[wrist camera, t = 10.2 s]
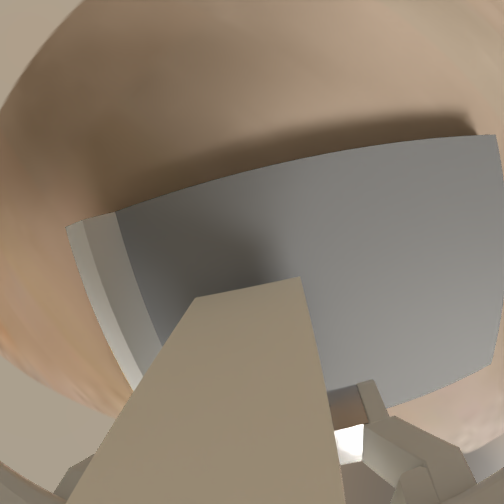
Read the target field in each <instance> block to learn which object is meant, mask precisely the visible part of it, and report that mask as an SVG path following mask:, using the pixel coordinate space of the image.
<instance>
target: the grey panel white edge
mask: <svg viewBox="0 0 504 504" xmlns="http://www.w3.org/2000/svg"><path fill="white" fill-rule="evenodd" d="M65 228H66V231H67V235H68V238H69V242H70V245H71V249H72V252H73V255H74V258H75V261H76V264H77V267H78V270H79V273H80V276H81V279H82V282H83V285H84V287H85V290H86V293H87V295H88V298H89V300H90V303H91V305H92V308H93V310H94V313H95V315H96V317H97V320H98V322H99V324H100V327H101V329H102V331H103V333H104V335H105V338H106V340H107V342H108V344H109V347H110V349H111V351H112V353H113V355H114V357H115V359H116V361H117V363H118V365H119V367H120V368H121V370H122V372H123V374H124V376H125V378H126V380H127V381H128V383H129V385H130V387H131V388H132V390H133V392H134V390H135V389H136V387H137V386H138V384H139V382H140V381H141V379H142V378H143V376H144V375H145V373H146V372H147V370H148V368H149V367H150V365H151V364H152V362H153V361H154V359H155V358H156V356H157V355H158V353H159V352H160V350H161V348H162V347H163V345H164V344H165V342H166V341H167V339H168V338H169V336H170V335H171V333H172V332H173V330H174V329H175V327H176V326H177V324H178V323H179V321H180V320H181V318H182V317H183V315H184V314H185V312H186V311H187V309H188V308H189V306H190V305H191V303H192V302H193V300H194V299H195V298H196V297H201V296H207V295H212V294H217V293H222V292H227V291H232V290H238V289H242V288H247V287H252V286H257V285H262V284H267V283H272V282H276V281H281V280H286V279H290V278H295V277H299V276H300V278H301V282H302V286H303V290H304V294H305V298H306V302H307V307H308V311H309V315H310V319H311V323H312V328H313V332H314V336H315V341H316V345H317V350H318V354H319V359H320V363H321V368H322V373H323V377H324V382H325V387H326V391H329V390H333V389H338V388H342V387H346V386H350V385H353V384H357V383H360V382H364V381H367V380H371V379H373V380H374V381H375V383H376V386H377V388H378V390H379V393H380V395H381V397H382V400H383V402H384V405H385V407H386V408H390V407H393V406H396V405H399V404H402V403H405V402H407V401H410V400H413V399H416V398H418V397H421V396H423V395H426V394H429V393H431V392H433V391H436V390H438V389H441V388H443V387H445V386H448V385H450V384H452V383H454V382H456V381H458V380H461V379H463V378H465V377H467V376H469V375H471V374H473V373H475V372H477V371H479V370H481V369H482V368H484V367H486V366H488V365H490V364H491V362H492V358H493V354H494V350H495V345H496V341H497V336H498V331H499V325H500V320H501V313H502V306H503V299H504V181H503V173H502V166H501V160H500V154H499V149H498V144H497V139H496V135H473V136H456V137H443V138H432V139H422V140H413V141H404V142H396V143H389V144H382V145H375V146H368V147H362V148H356V149H350V150H344V151H338V152H333V153H327V154H322V155H317V156H312V157H307V158H302V159H297V160H293V161H288V162H284V163H279V164H275V165H270V166H266V167H262V168H258V169H254V170H250V171H246V172H242V173H238V174H234V175H230V176H227V177H223V178H219V179H216V180H212V181H209V182H205V183H202V184H198V185H195V186H191V187H188V188H185V189H181V190H178V191H175V192H172V193H169V194H165V195H162V196H159V197H156V198H153V199H150V200H147V201H144V202H141V203H138V204H135V205H133V206H130V207H127V208H124V209H121V210H119V211H116V212H112V213H108V214H104V215H100V216H96V217H92V218H88V219H84V220H81V221H79V222H76V223H74V224H71V225H69V226H67V227H65Z"/></svg>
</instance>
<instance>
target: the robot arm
mask: <svg viewBox="0 0 504 504" xmlns="http://www.w3.org/2000/svg"><path fill="white" fill-rule="evenodd" d="M326 392H327V397H328V402H329V407H330V412H331V417H332V423H333V428H334V434H335V439H336V445H337V450H338V456H339V462H340V465H344V464H348V463H353V462H358V461H362V460H363V462H364V463H365V464H366V465H367V466H368V467H370V468H371V469H372V470H373V471H374V472H376V473H377V474H378V475H379V476H381V477H382V478H383V479H384V480H386V481H387V482H388V483H390V484H391V485H392V486H393V487H394V488H396V490H395V492H394V495H393V498H392V500H391V503H390V504H504V467H503V468H502V469H500V470H499V471H497V472H496V473H494V474H493V475H491V476H490V477H488V478H486V479H485V480H483V481H481V482H480V483H478V484H477V483H476V481H475V478H474V477H473V474H472V472H471V470H470V468H469V466H468V464H467V462H466V460H465V458H464V456H463V454H462V452H461V450H460V448H459V447H457V446H455V445H453V444H450V443H448V442H446V441H444V440H442V439H440V438H438V437H436V436H434V435H432V434H430V433H428V432H425V431H423V430H421V429H419V428H418V427H416V426H414V425H412V424H410V423H408V422H406V421H404V420H402V419H400V418H398V417H396V416H392V417H389V414H388V412H387V409H386V407H385V405H384V402H383V400H382V397H381V395H380V393H379V390H378V388H377V386H376V383H375V381H374V380H373V379H371V380H367V381H364V382H360V383H357V384H353V385H350V386H346V387H342V388H338V389H333V390H329V391H326ZM94 455H95V454H93V455H91V456H90V457H88V458H86V459H85V460H83V461H81V462H80V463H78V464H76V465H74V466H72V467H70V468H69V469H68V471H67V472H66V474H65V475H64V477H63V479H62V480H61V482H60V483H59V485H58V487H57V488H56V490H55V491H54V493H51V492H49V491H47V490H46V489H44V488H42V487H40V486H38V485H37V484H35V483H33V482H31V481H30V480H28V479H26V478H25V477H23V476H22V475H20V474H18V473H17V472H15V471H14V470H12V469H11V468H10V467H8V466H7V465H5V464H4V463H2V462H1V461H0V504H66V502H67V500H68V499H69V497H70V495H71V493H72V492H73V490H74V488H75V487H76V485H77V483H78V481H79V480H80V478H81V476H82V475H83V473H84V471H85V470H86V468H87V466H88V465H89V463H90V461H91V460H92V458H93V456H94Z"/></svg>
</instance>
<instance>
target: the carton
mask: <svg viewBox="0 0 504 504" xmlns="http://www.w3.org/2000/svg"><path fill="white" fill-rule="evenodd" d="M66 504H346V502H345V494H344V488H343V482H342V475H341V468H340V462H339V456H338V450H337V445H336V439H335V434H334V428H333V423H332V417H331V412H330V407H329V402H328V397H327V392H326V387H325V382H324V377H323V373H322V368H321V363H320V359H319V354H318V350H317V345H316V341H315V336H314V332H313V328H312V323H311V319H310V315H309V311H308V307H307V302H306V298H305V294H304V290H303V286H302V282H301V278H300V276H299V277H295V278H290V279H286V280H281V281H276V282H272V283H267V284H262V285H257V286H252V287H247V288H242V289H238V290H232V291H227V292H222V293H217V294H212V295H207V296H201V297H196V298H195V299H194V300H193V302H192V303H191V305H190V306H189V308H188V309H187V311H186V312H185V314H184V315H183V317H182V318H181V320H180V321H179V323H178V324H177V326H176V327H175V329H174V330H173V332H172V333H171V335H170V336H169V338H168V339H167V341H166V342H165V344H164V345H163V347H162V348H161V350H160V352H159V353H158V355H157V356H156V358H155V359H154V361H153V362H152V364H151V365H150V367H149V368H148V370H147V372H146V373H145V375H144V376H143V378H142V379H141V381H140V382H139V384H138V386H137V387H136V389H135V390H134V392H133V393H132V395H131V397H130V398H129V400H128V401H127V403H126V405H125V406H124V408H123V409H122V411H121V413H120V414H119V416H118V417H117V419H116V421H115V422H114V424H113V426H112V427H111V429H110V430H109V432H108V434H107V435H106V437H105V438H104V440H103V442H102V443H101V445H100V446H99V448H98V450H97V451H96V453H95V455H94V456H93V458H92V460H91V461H90V463H89V465H88V466H87V468H86V470H85V471H84V473H83V475H82V476H81V478H80V480H79V481H78V483H77V485H76V487H75V488H74V490H73V492H72V493H71V495H70V497H69V499H68V500H67V502H66Z"/></svg>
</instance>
